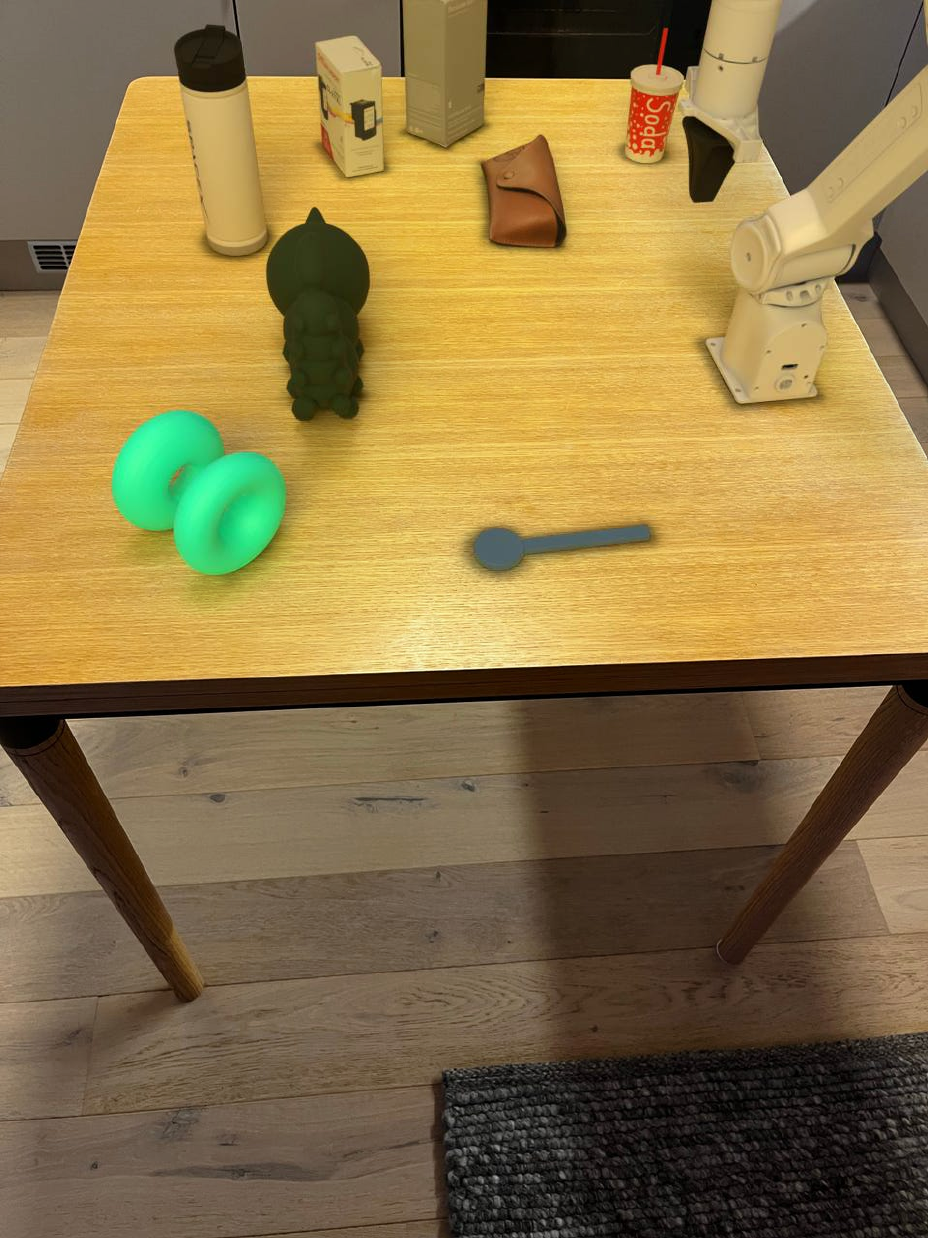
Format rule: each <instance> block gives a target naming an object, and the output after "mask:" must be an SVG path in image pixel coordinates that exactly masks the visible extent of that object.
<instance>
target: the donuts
mask: <svg viewBox="0 0 928 1238" xmlns="http://www.w3.org/2000/svg"><path fill="white" fill-rule="evenodd" d="M223 442H224V441H223V438H222V436H221V434H220V432H219V430H218V428H217V427H216V426H215V425H214V424H213V422H212V421H211V420H210V419H208V418H207V417H206V416H203V415H202V414H200V413H197V412H195V411H191V410H187V409H186V410H185V409H176V410H170V411H164V412H163V413H159V414H157V415H155V416H153V417H151V418H149V419H148V420H146V421H145V422H144V423H142V424H141V425H140V426H138V427H137V428H136V429H135V430H134V431H133V432H132V433H131V434H130V435H129V437H127V440H126V441H125V442H124V443H123V445H122V447H121V449H120V450H119V452H118V455H117V456H116V459H115V462H114V465H113V469H112V473H111V474H112V475H111V484H110V485H111V486H110V487H111V495H112V499H113V501H114V504H115V506H116V509H117V510H118V512H119V513H120V515H121V516H122V517H123V518H124V519H125V520H126V521H127V522H129V523H130V524H131V525H133V526H134V527H137V528H139V529H142V530H146V531H154V532H158V531H159V532H160V531H167V530H171V529H173V540H174V544H175V545H174V546H175V548H176V550H177V552H178V555H179V557H180V558H181V559H182V560H183V562H184V563H185V564H186V565H187V566H188V567H190V568H191V569H192V570H194V571H195V572H198V573H201V574H203V575H208V576H219V575H220V576H222V575H226V574H230V573H233V572H235V571H238V570H241V568H244V567H245V566H246V565H248V564H249V563H251V562H253V560H255V559H256V558H257V557H258V556H259V555H260V554H261V553H262V552H263V551H264V550H265V549H266V548H267V546H268V545H269V543H270V542H271V541H272V539H273V538H274V537H275V535H276V533H277V531H278V529H279V527H280V525H281V523H282V520H283V517H284V514H285V511H286V505H287V485H286V481H285V478H284V475H283V473H282V471H281V470H280V468H279V467H278V466H277V464H276V463H275V462H274V461H273V460H271V458H268V457H267V456H265V455H263V454H260V453H257V452H254V451H253V452H252V451H237V452H233V453H229V454H226V452H225V451H226V450H225V445H224V443H223ZM181 468H182V469H181ZM180 469H181V470H180ZM179 470H180V472H179V474H178V476H177V477H176V478H175V480H174V481H173V482H172V479H173V477H174V476H175V474H176V473H177V472H178V471H179ZM171 482H172V483H171Z"/></svg>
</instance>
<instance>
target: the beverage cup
mask: <svg viewBox="0 0 928 1238" xmlns="http://www.w3.org/2000/svg"><path fill="white" fill-rule="evenodd" d="M668 31H669V28H668V27H664V28H663V31H662V37H661V43H660V46H659V47H660V48H659V54H658V60H657V64H643V65H639V66H637V67H634V69H632V70H631V71H630V79H629V84H630V86H631V88H630V100H629V108H628V109H629V110H628V117H627V129H626V138H625V148H624V155H625V156H626V157H627V158H628V159H630V160H631V161H633V162H637V163H641V164H652V163H656V162H660V161H661V159H662V158H663V156H664V154H665V153H664V152H665V149H666V144H667V142H668V137H669V134H670V130H671V126H672V121H673V117H674V114H675V109H676V106H677V102H678V98H679V94H680V91H681V90H682V89H683V85H684V84H685V76H684V75H683V74H682V73H681V71H679V70H677V69H675V68H673V67H670V66H667V65H663V60H664V54H665V48H666V43H667V37H668Z"/></svg>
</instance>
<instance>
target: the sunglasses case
mask: <svg viewBox="0 0 928 1238" xmlns="http://www.w3.org/2000/svg"><path fill="white" fill-rule="evenodd" d="M480 166H481V169H482V171H483V174H484V177H485V183H486V188H487V195H488V196H487V198H488V199H487V200H488V206H489V208H488V209H489V233H488V239H489V241H491V242H493V243H495V244H499V245H505V246H511V247H520V248H539V249H540V248H541V249H549V248H551V249H554V248H556V247H558V246H560V245H561V244H562V243H563V242H564V241H565V240H566V237H567V231H568V230H567V224H566V217H565V211H564V205H563V200H562V195H561V191H560V186H559V181H558V176H557V170H556V165H555V162H554V158H553V155H552V152H551V149H550V145H549V142H548V140H547V138H546V137H545V136H544V135H543V134H540V133H539V134H538V135H537V136H535V138H534V139H533V140H532V141H531V140H530V141H529V142H527V143H524V144H522V145H520V146H517V147H515V148H513V149H509V150H508V151H505V152H503V153H501V154H497V155H496V156H493V157H491V158H489V159H487V160H482V161H481V162H480Z"/></svg>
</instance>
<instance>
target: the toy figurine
mask: <svg viewBox="0 0 928 1238" xmlns="http://www.w3.org/2000/svg"><path fill="white" fill-rule="evenodd" d="M265 267H266V268H265V279H266V286H267V291H268V294H269V297H270V299H271V301H272V303H273V305H274V306H275V308H276V309H277V311H278V312H279V313H280V314H281V315H282V316H283V323H282V333H283V339H284V345H283V349H282V352H281V353H282V357H283V359H284V360H285V361H286V362H287V363H288V365H289V366H288V367H289V372H290V378H289V379H288V381H287V384H286V388H285V389H286V391H287V392H288V394H289V395H290V397H291V398H292V399H295V400H293V402H292V404H291V410H290V411H291V413H292V415H293V416H294V418H295V420H297V421H299V422H309V421H310V420H312V419H314V416H315V414H317V413H318V411H321V412H322V411H323V412H328V411H331V413H333V414H335V415H336V416H338V417H339V418H341V419H343V420H352V419H354V418H356V417H357V416H358V413H359V410H360V404H359V401H358V400H357V398H356V397H357V396H359V395H361V392H362V391H363V388H364V386H365V385H364V382H363V380H362V378H361V377H360V375H359V369H360V367H359V366H360V361H361V359H362V357H363V356H364V353H365V347H364V345H363V342H362V340H361V338H360V323H359V320H358V315H359V314H360V312H361V311H362V309H363V308H364V306H365V304H366V302H367V300H368V295H369V292H370V287H371V272H370V264H369V262H368V258H367V255H366V254H365V252H364V250H363V248H362V247H361V246H360V244H359V243H358V242H357V241H356V240H355V239H354V238H353V237H352V235H350V234H349V233H348V232H347V231H345V230H343V229H342V228H341V227H338V226H336V225H334V224H331V223H327V222H326V220H325V219H324V216H323V215H322V213H321V211H320V209H319V208H318V207H317V206H313V207H312V208H311V209H310V211H309V214H308V215H307V217H306V220H305V222H304V223H301V224H298V225H295V226H294V227H292V228H290V229H288V230H287V231H285V232H284V233H283V234H282V235H281V236H280V237H279V239H278V240H277V241H276V242H275V244H274V245H273V247H272V249H270V252H269V253H268V257H267V260H266V266H265Z"/></svg>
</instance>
